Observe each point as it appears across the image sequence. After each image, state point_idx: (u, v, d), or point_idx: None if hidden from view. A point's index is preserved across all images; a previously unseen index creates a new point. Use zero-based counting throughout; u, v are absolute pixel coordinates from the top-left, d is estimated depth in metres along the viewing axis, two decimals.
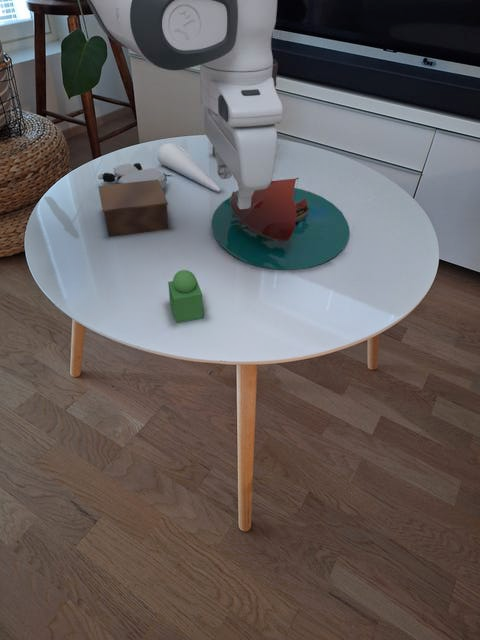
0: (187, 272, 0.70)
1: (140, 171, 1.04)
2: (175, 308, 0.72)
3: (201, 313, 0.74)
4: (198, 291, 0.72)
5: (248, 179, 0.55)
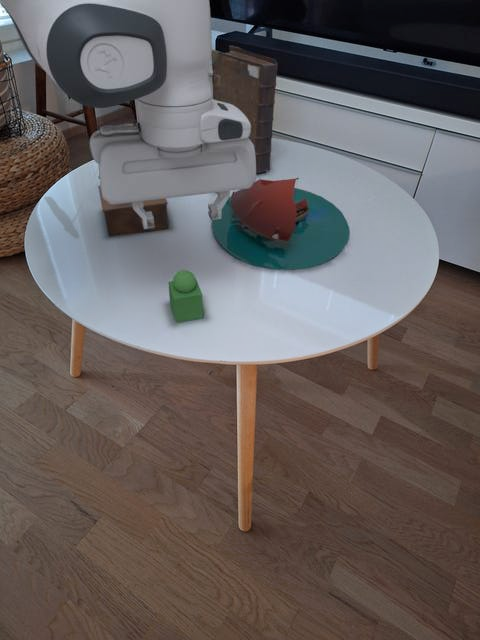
0: (187, 272, 0.70)
1: None
2: (175, 308, 0.72)
3: (201, 313, 0.74)
4: (198, 291, 0.72)
5: None
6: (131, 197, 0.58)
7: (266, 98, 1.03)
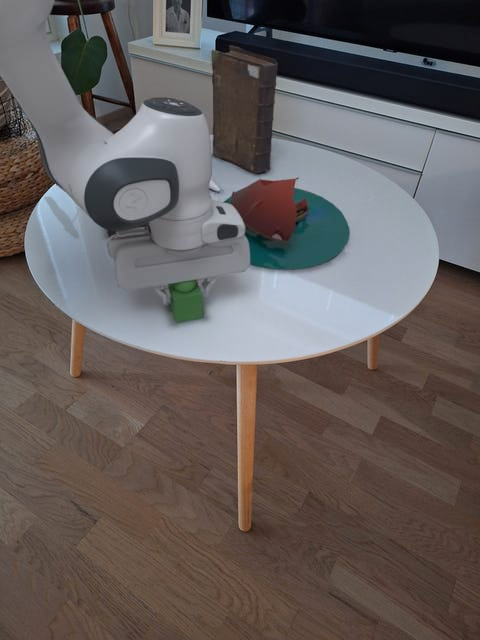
0: None
1: None
2: (175, 308, 0.72)
3: (201, 313, 0.74)
4: (198, 291, 0.72)
5: None
6: (142, 285, 0.67)
7: (266, 98, 1.03)
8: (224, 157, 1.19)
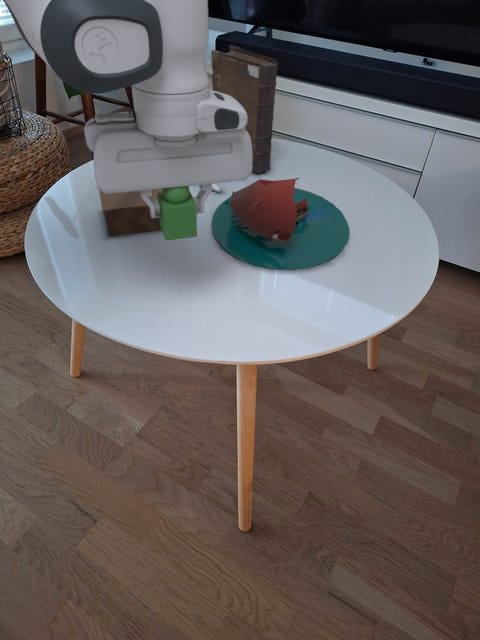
0: None
1: None
2: (165, 221, 0.62)
3: (195, 230, 0.64)
4: (191, 202, 0.62)
5: None
6: (126, 187, 0.58)
7: (266, 98, 1.03)
8: None
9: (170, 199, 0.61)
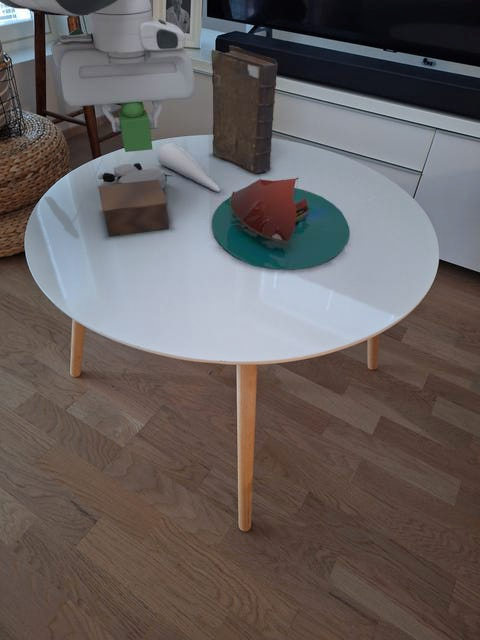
0: None
1: (140, 171, 1.04)
2: (123, 133, 0.74)
3: (150, 143, 0.77)
4: (145, 117, 0.74)
5: (194, 85, 0.73)
6: (88, 100, 0.70)
7: (266, 98, 1.03)
8: (224, 157, 1.19)
9: (127, 113, 0.73)
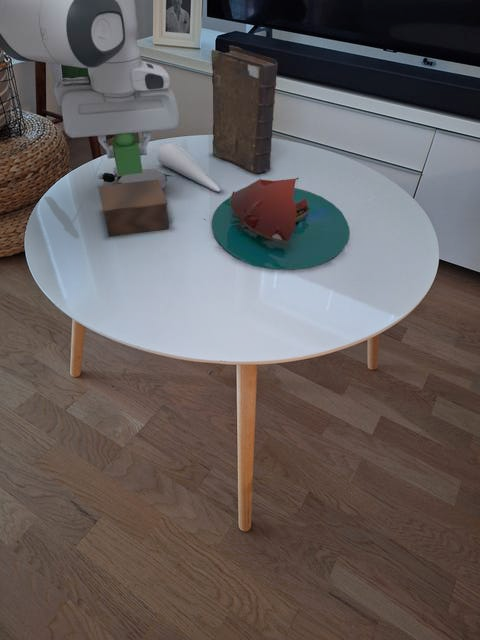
0: None
1: None
2: (116, 159, 0.85)
3: (140, 167, 0.87)
4: (136, 145, 0.85)
5: (178, 118, 0.84)
6: (86, 132, 0.81)
7: (266, 98, 1.03)
8: (224, 157, 1.19)
9: (120, 143, 0.84)
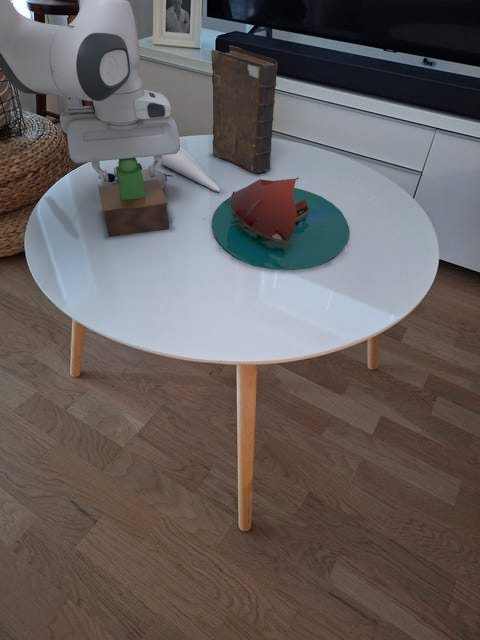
0: None
1: None
2: (120, 185, 0.88)
3: (143, 193, 0.91)
4: (139, 172, 0.88)
5: (179, 143, 0.87)
6: (90, 158, 0.84)
7: (266, 98, 1.03)
8: (224, 157, 1.19)
9: (123, 170, 0.87)
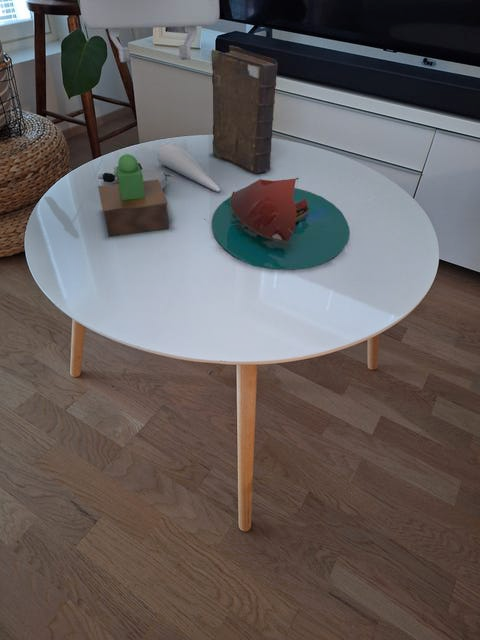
0: (129, 155, 0.87)
1: None
2: (120, 185, 0.88)
3: (143, 193, 0.91)
4: (139, 172, 0.88)
5: None
6: (108, 22, 0.66)
7: (266, 98, 1.03)
8: (224, 157, 1.19)
9: (123, 170, 0.87)
